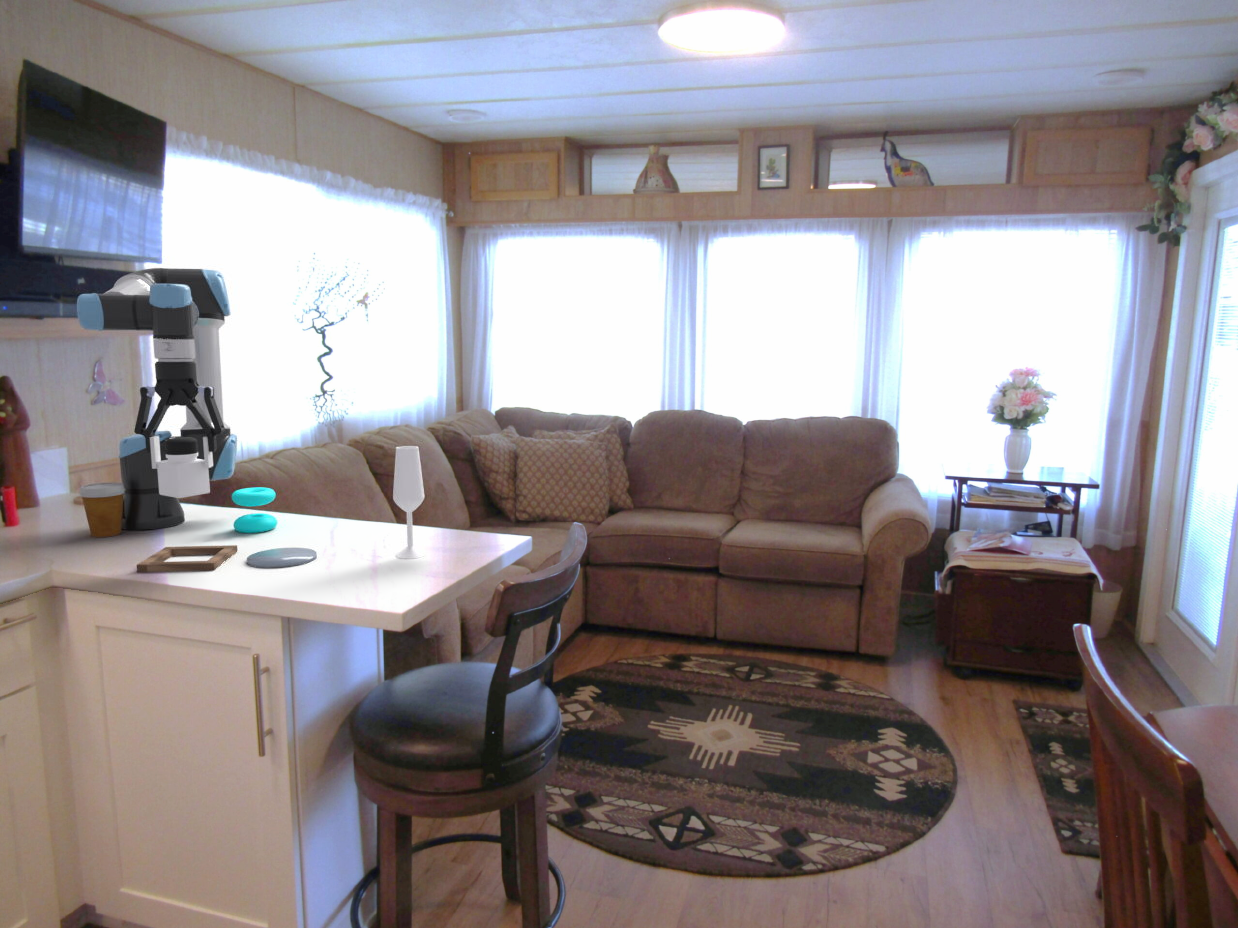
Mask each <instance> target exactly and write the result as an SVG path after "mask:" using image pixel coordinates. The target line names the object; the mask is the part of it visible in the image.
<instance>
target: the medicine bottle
mask: <svg viewBox="0 0 1238 928" xmlns="http://www.w3.org/2000/svg"><path fill="white" fill-rule="evenodd" d="M165 451H166V458H168V460H163V461H158V462H157V471H158V484H159V494H160V495H164V496H170V497H175V498H178V499H183V498H184V499H185V498H189V497H195V496H199V495H206V494H210V492H211V485H210V480H209V468H205V460H203V459H197V456H198V445H197V440H196V439H195V438H192V437H175V438H170V439H168V440H166V441H165Z"/></svg>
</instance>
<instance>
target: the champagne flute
mask: <svg viewBox="0 0 1238 928" xmlns="http://www.w3.org/2000/svg"><path fill="white" fill-rule="evenodd" d="M394 457H395V461H394V475H393V476H394V477H393V493H392V499H393V502H394V503H395V504H396V506H397V507H399V508H400V509H401V510H402V511H403V512H406V536H407V539H406V540H407V541H406V543H407V546H406V547H405V548H403V549H402V550H400V551H399V552H397V553H396V554H394V556H395V557H396V558H397V559H403V560H409V559H410V560H413V559H419V558H422V557H425V556H426V555H427V554H426V552H424V551H423V550H421V549H419V548H417V547H416V546H414V534H413V512H415V510H417V508H419V507H420V506H421V505H422V503H423V501H424V500H425V491H424V481H423V474H422V464H421V456H420V450H419V446H416V445H415V446H414V445H403V446H396V447H395V456H394Z"/></svg>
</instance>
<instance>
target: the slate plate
mask: <svg viewBox="0 0 1238 928" xmlns="http://www.w3.org/2000/svg"><path fill="white" fill-rule="evenodd" d="M317 555H318V554H317V551H316V550H314V549H311V548H307V547H306V548H305V547H280V548H279V547H278V548H270V549H266V550H261V551H257V552H255V553H252V554H249V555H248V556H247V557H246V563H248V564H249V566H250V565H252V566H251V567H254V566H256V567H255V568H260V567H281V568H288V567H287V566H290V567H295V566H294V565H297V566H301V565H304V563H305V564H308V563H310V561H311V562H313V561H315V560H316V559H317ZM307 562H308V563H307ZM248 564H247V565H248ZM300 564H301V565H300Z"/></svg>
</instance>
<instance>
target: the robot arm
mask: <svg viewBox="0 0 1238 928" xmlns="http://www.w3.org/2000/svg"><path fill="white" fill-rule="evenodd" d="M227 292H228V291H227V287H226V282H225V279H224V276H223V274H222V273H221V272H220V271H218V270H214V269H204V268H163V267H154V268H146V269H141V270H137V271H134V272H131V273H128V274H125V275H123V276H121V277H120V278H119V279H117V281H115V283H114V285H113V287H112V288H111V289H109V290H107V291H105V292H104V293H96V292H93V293H82V294H79V296H78V297H77V299H76V300H77V301H76V313H77V319H78V323H79V325H80V327H81V328H83V329H84V330H89V331H98V332H103V331H141V332H142V331H143V332H145V331H147V332H150V331H152V338H153V339H152V342H153V354H154V359H157V361H155V363H154V368H155V370H154V371H155V379H156V383H155V385H154V386H148V385H147V386H141V387H140V388H139V394H140V403H139V407H138V412H137V415H136V422H135V425H134V431H133V432H134V433H135V434H133V435H129V436H126V437H124V438H122V439H121V440H120V441H119V444H118V446H119V448H118V451H119V455H118V459H119V465H120V475H121V483H122V484H123V487H124V488H125V491H124V495H123V512H122V529H121V530H129V531H131V530H132V531H133V530H136V531H137V530H138V531H139V530H141V531H143V530H153V529H162V528H168V527H174V526H177V525H180V524H182V523H184V522H186V521H185V520H186V519H185V511H184V509H183V507H182V505H181V503H180V500H179V498H175V497H170V496H164V495H160V494H159V484H158V471H157V462H158V461H163V460H168V458H166V451H165V441H166V440H168V439H170V438H175V437H192V438H195V439H196V440H197V445H198V456H197V459H203V460H205V468H209V481H212V482H214V481H219V480H227V479H230V478H231V477H232V476H233V474H234V471H235V467H236V461H237V460H236V459H237V450H238V436H237V435H236V434H234V433H231V427H230V426H229V425H228V424H226V422H225V421H224V408H223V407H224V404H223V389H222V388H223V387H222V386H223V385H222V373H221V372H222V367H221V351H220V350H221V349H220V348H221V347H220V333H219V330H220V329H221V328H222V326H224V324H225V321H226V320H225V317H229V316H230V315H231V308H230V307H231V306H230V301H229V295H228V293H227ZM155 394H157V395H158V396H159V397H160V399H159V402H158V403H157V407H156V409H155V412H154V413H153V415H152V416H151V419H150V421H149V415H150V411H151V407H152V401H153V397H155ZM171 406H172V407H174V406H179V407H180V406H181V407H185V415H186V422H185V424H183V426H182V427H181V428H180V429H179V430H180V431H179V432H180V435H178V436H175V435H174V436H173V435H172V432H171V431H170V430H160V431H159V430H158V429H159V427H160V425H161V423H162V421H163V419H164V418H165V417H164V416H165V415H166V413H167V412H168V409H169V408H170V407H171ZM148 421H149V423H148Z"/></svg>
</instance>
